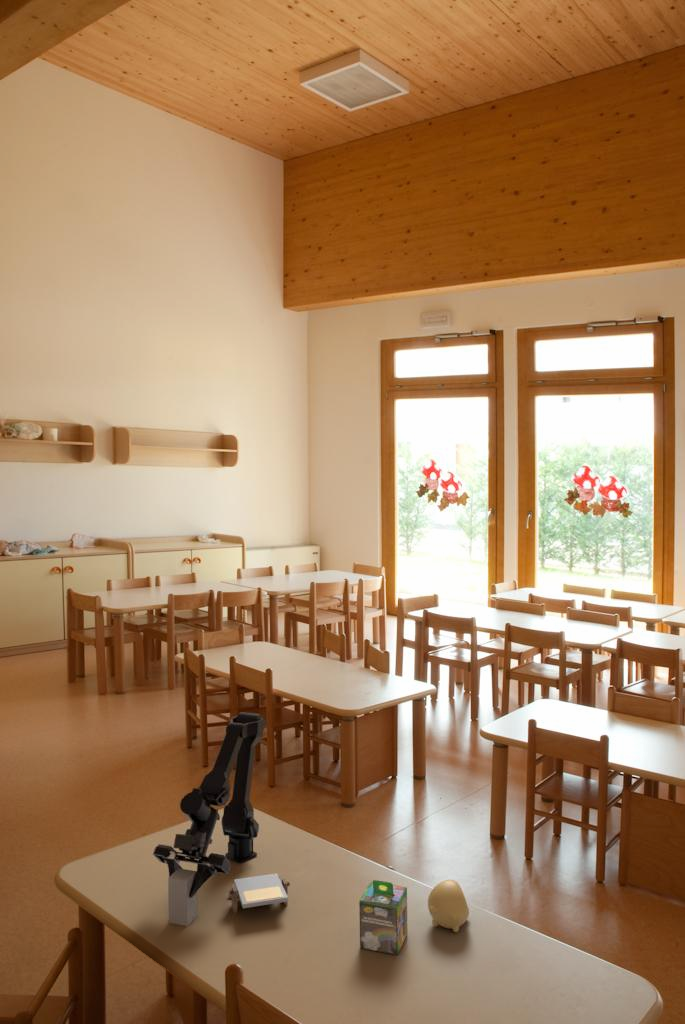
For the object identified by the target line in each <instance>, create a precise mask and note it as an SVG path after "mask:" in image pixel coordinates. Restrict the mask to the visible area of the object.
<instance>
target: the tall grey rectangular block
mask: <svg viewBox="0 0 685 1024" xmlns="http://www.w3.org/2000/svg"><path fill="white" fill-rule="evenodd" d="M196 873H197V870H192V869H185V868H182V869H181V868H178V869H177V870H176V871H175V872H174V873H173V874H172V875H171V876H170V877H169V876H168V880H167V881H168V882H167V883H168V923H169V924H173V925H179V926H184V927H189V926H190V924H192V922H193V921H194V920H195V919H196V918H197V916H198V891H197V892H196V893H195V894H194V896H193V897H192V898H190V897H189V894H190V890H191V887H192V884H193V881H194V879H195V876H196Z"/></svg>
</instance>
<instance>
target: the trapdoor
mask: <svg viewBox="0 0 685 1024" xmlns="http://www.w3.org/2000/svg"><path fill="white" fill-rule="evenodd" d="M233 881H234V882H233V885H235V886H236V889H237V893H238V896H239V897H238V898H239V899H238V900H239V901H240V903H241V907H242V909H246V908H247V909H248V908H254V907H260V906H265V905H272V904H280V903H283V902H287V901H289V897H288V896H287V894H286V892H285V890H284V887H283V885H282V880H281V879H280V876H279V875H278V873H276V872H275V873H271V874H270V873H268V874H263V875H255V876H249V877H244V878H243V877H242V878H236V879H234V880H233Z"/></svg>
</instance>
